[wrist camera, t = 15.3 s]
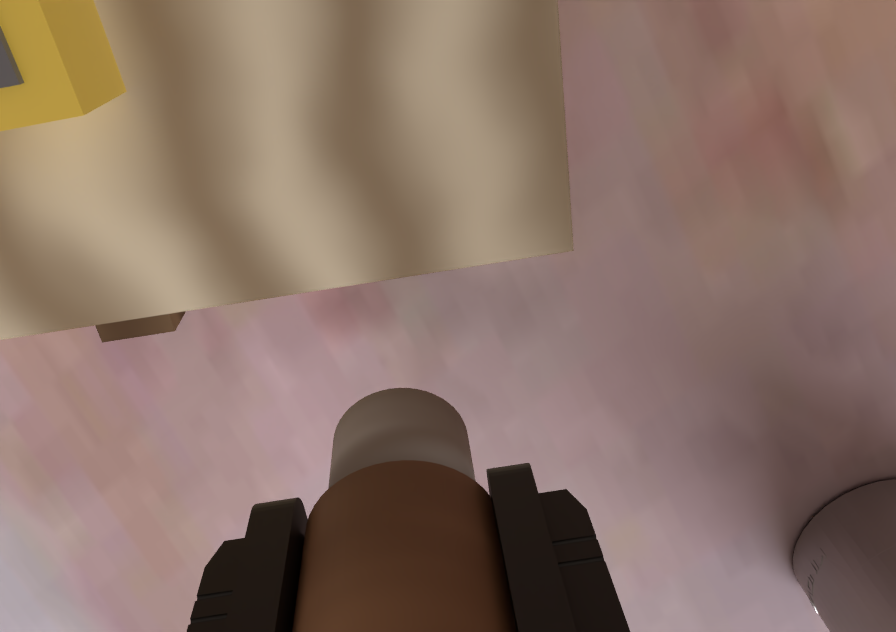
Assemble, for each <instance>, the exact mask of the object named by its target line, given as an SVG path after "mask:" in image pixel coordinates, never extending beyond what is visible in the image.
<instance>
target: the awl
mask: <svg viewBox="0 0 896 632" xmlns="http://www.w3.org/2000/svg"><path fill="white" fill-rule="evenodd" d="M292 632H517V630H516V625H515V620H514V614H513V609H512V604H511V599H510V593H509V588H508V583H507V578H506V573H505V567H504V562H503V557H502V552H501V547H500V541H499V536H498V531H497V526H496V521H495V515H494V510H493V505H492V500H491V497H490V495H489V494H488V493H487V492H486V491H485V490H484V488H483V487H481V486H480V485H479V484H478V483H477V482H476V481H475V475H474V469H473V463H472V458H471V452H470V446H469V440H468V434H467V430H466V426H465V424H464V421H463V420H462V418H461V416H460V414H459V413H458V412H457V411H456V410H455V408H454V407H452V406H451V405H450V404H449V403H448V402H446V401H445V400H444V399H442V398H440V397H438V396H436V395H434V394H432V393H429V392H426V391H422V390H418V389H411V388H394V389H387V390H382V391H379V392H376V393H373V394H371V395H368V396H366V397H364V398H363V399H361V400H359V401H358V402H356V403H355V404H354V405H353V406H351V407H350V408H349V409H348V410H347V411H346V412H345V414H344V415H343V417H342V418H341V419H340V421H339V423H338V425H337V427H336V430H335V433H334V440H333V449H332V459H331V469H330V479H329V489H328V490H327V491H326V492H325V493H324V494H323V495H322V496H321V497H320V499H319V500H318V501H317V503H316V504H315V505H314V507H313V509H312V511H311V513H310V515H309V518H308V521H307V524H306V531H305V538H304V545H303V553H302V560H301V568H300V575H299V583H298V590H297V598H296V606H295V613H294V621H293V628H292Z"/></svg>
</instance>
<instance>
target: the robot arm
mask: <svg viewBox="0 0 896 632" xmlns="http://www.w3.org/2000/svg"><path fill="white" fill-rule="evenodd" d="M487 478H488V486H489V494H490V497H491V500H492V505H493V510H494V515H495V521H496V526H497V531H498V536H499V541H500V547H501V552H502V557H503V562H504V567H505V573H506V578H507V583H508V588H509V593H510V599H511V604H512V609H513V614H514V620H515V625H516V630H517V632H630V630H629V627H628V624H627V621H626V619H625V616H624V613H623V610H622V607H621V604H620V602H619V599H618V596H617V593H616V590H615V588H614V585H613V582H612V579H611V576H610V574H609V571H608V568H607V565H606V562H605V561H604V558H603V554H602V551H601V548H600V545H599V543H598V540H597V539H596V534H595V531H594V529H593V526H592V523H591V520H590V517H589V514H588V512H587V509H586V508H585V507H584V506H583V505H582V504H581V503H580V502H579V501H578V500H577V499H576V498H575V497H574V496H573V495H572V494H571V493H570V492H569V491H568V490H567V489H564V490H558V491H551V492H545V493H538V491H537V487H536V483H535V480H534V476H533V473H532V469H531V466H530V464H529V463H524V464H518V465H511V466H504V467H498V468H491V469H487ZM307 521H308V519H307V516H306V512H305V509H304V505H303V503H302V501H301V499H300V498H292V499H285V500H279V501H272V502H266V503H259V504H255V505H254V506H253V507H252V510H251V514H250V518H249V522H248V527H247V531H246V535H245V538H241V539H235V540H228V541H224V542H223V544H222V545H221V546H220V548H219V549H218V550H217V552H216V553H215V554H214V556H213V557H212V558H211V560H210V561H209V562H208V564H207V565H206V567H205V569H204V572H203V576H202V579H201V583H200V586H199V590H198V593H197V601H195V604H194V607H193V611H192V615H191V618H190V620H191V624H190V625H188V629H187V632H292V628H293V621H294V613H295V606H296V598H297V590H298V583H299V575H300V568H301V560H302V553H303V545H304V538H305V531H306V524H307ZM793 570H794V573H795V575H796V578H797V581H798V582H799V584H800V585H801V587H802V588H803V590H804V592H805V593H806V595H807V596H808V598H809V600H810V602H811V604H812V606H813V607H814V609H815V610H816V612H817V613H818V614H819V615H820V617H821V618H822V620H823V621H824V623H825V624H826V626H827V628H828V629H829V631H830V632H896V479H891V480H885V481H878V482H875V483H872V484H868V485H865V486H862V487H859V488H857V489H855V490H853V491H850V492H848V493H846V494H844V495H842V496H841V497H839V498H838V499H836V500H834V501H833V502H831V503H830V504H828V505H827V506H826V507H825V508H823V509H822V510H821V511H820V512H819V513H818V514H817V515H816V516H815V517H813V519H812V520H811V521H810V522H809V524H808V525H807V526H806V527H805V529H804V530H803V532H802V534H801V535H800V537H799V539H798V541H797V543H796V546H795V551H794V555H793Z"/></svg>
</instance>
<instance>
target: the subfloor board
mask: <svg viewBox="0 0 896 632" xmlns="http://www.w3.org/2000/svg"><path fill="white" fill-rule="evenodd" d="M94 3H95V6H96V8H97V11H98V14H99V17H100V19H101V22H102V25H103V28H104V30H105V33H106V36H107V39H108V41H109V44H110V47H111V50H112V52H113V55H114V58H115V61H116V63H117V66H118V69H119V72H120V74H121V77H122V80H123V83H124V85H125V88H126V91H127V92H125V93H123V94H121V95H120V96H118V97H116V98H114V99H112V100H111V101H109V102H107V103H105V104H104V105H102V106H100V107H98V108H96V109H95V110H93V111H91V112H89V113H87V114H86V115H84V116H78V117H73V118H68V119H63V120H57V121H52V122H47V123H42V124H36V125H31V126H26V127H21V128H15V129H10V130H5V131H0V340H4V339H10V338H16V337H23V336H29V335H36V334H42V333H49V332H55V331H61V330H68V329H74V328H81V327H87V326H94V325H95V326H96V328H97V331H98V333H99V336H100V338H101V340H102V342H108V341H114V340H121V339H127V338H133V337H140V336H146V335H153V334H159V333H166V332H172V331H175V330H176V328H177V326H178V325H179V323H180V321H181V319H182V317H183V316H184V314H185V312H186V311H190V310H196V309H203V308H209V307H216V306H222V305H228V304H235V303H241V302H248V301H254V300H261V299H267V298H273V297H280V296H286V295H293V294H299V293H306V292H312V291H318V290H325V289H331V288H338V287H344V286H351V285H357V284H363V283H370V282H376V281H383V280H389V279H396V278H402V277H408V276H415V275H421V274H428V273H434V272H441V271H447V270H453V269H460V268H466V267H473V266H479V265H486V264H492V263H498V262H505V261H511V260H518V259H524V258H531V257H537V256H543V255H550V254H556V253H563V252H569V251H574V250H573V234H572V219H571V203H570V187H569V172H568V156H567V140H566V124H565V109H564V93H563V77H562V61H561V46H560V30H559V14H558V0H94Z"/></svg>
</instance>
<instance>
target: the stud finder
mask: <svg viewBox="0 0 896 632" xmlns="http://www.w3.org/2000/svg"><path fill="white" fill-rule="evenodd" d="M125 92H127V91H126V88H125V85H124V83H123V80H122V77H121V74H120V72H119V69H118V66H117V63H116V61H115V58H114V55H113V52H112V50H111V47H110V44H109V41H108V39H107V36H106V33H105V30H104V28H103V25H102V22H101V19H100V17H99V14H98V11H97V8H96V6H95V3H94V0H0V131H5V130H10V129H15V128H21V127H26V126H31V125H36V124H42V123H47V122H52V121H57V120H63V119H68V118H73V117H78V116H84V115H86V114H87V113H89V112H91V111H93V110H95V109H96V108H98V107H100V106H102V105H104V104H105V103H107V102H109V101H111V100H112V99H114V98H116V97H118V96H120V95H121V94H123V93H125Z"/></svg>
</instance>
